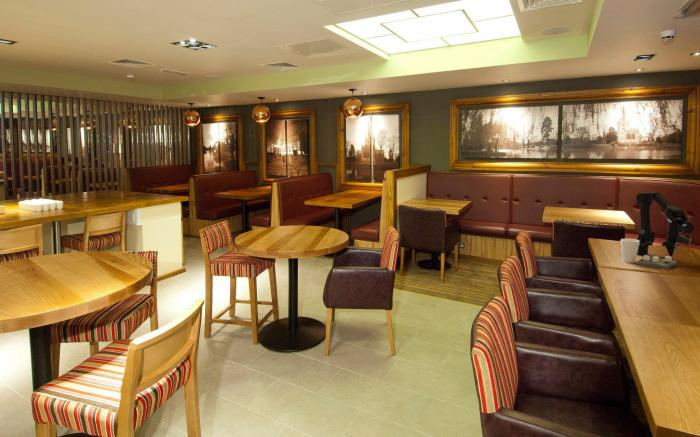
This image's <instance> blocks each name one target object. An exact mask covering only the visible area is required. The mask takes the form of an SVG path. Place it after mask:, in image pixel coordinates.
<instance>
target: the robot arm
mask: <svg viewBox="0 0 700 437" xmlns="http://www.w3.org/2000/svg"><path fill="white" fill-rule="evenodd" d="M635 198H636V203H637V205H638V206H639V208H640V209H639V210H640V212H639V213H640V230H639V233H638V234H637V235H638V236H637V238H635V240H639V241H640V244H639V247H638V251H637V255H636V256H644V255H648V256H651V253H649V246H653V244H654V243H655V240H656V233H655V231H652V228H651V227H652V226H651V208H650V207H651V206H652V204H653V201H654V202H655V203H656V204H657V205H658V206H659V207H661V209H662V210H663V211H664V214H665V216H666V217H667V219H666V220H665V223H668V224H667V231H666V238H665V240H664V241H663V242H662V243H661V246H662V247H665V248H666V250H667V252H668V256H670V257H672V258H673V257H674V255H675V252H676V250H677V248H678V247H680V246H681V245H683V244H684V245H686V246H689V245H690V244H691V242H692V240H693V239H692V237H691V235H690V234H692V233H693V232H694V231H695V226H694V224H693V223H692V221H691V220H688V218H687V216H686V214H685V211H684V210H683V209H682V208H680V207H678V206H676V205H674V204H672V203H671V201H669V200H668V199H667V198H665V197H664V195H662V193H661V192H659V191H652V192H639V193H638V194H637V195H636V197H635ZM682 233H684V234H687V235H682ZM678 243H679V244H678Z"/></svg>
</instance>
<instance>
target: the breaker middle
mask: <svg viewBox="0 0 700 437" xmlns="http://www.w3.org/2000/svg"><path fill="white" fill-rule="evenodd" d="M652 258H653V259H652V261H653V262H659V259H660V256H656V255H655V256H652Z"/></svg>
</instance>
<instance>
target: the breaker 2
mask: <svg viewBox="0 0 700 437" xmlns="http://www.w3.org/2000/svg"><path fill="white" fill-rule="evenodd" d="M672 258H673V257H670V255H665V256H664V259H665V261H668V262H671V260H672Z"/></svg>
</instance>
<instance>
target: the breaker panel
mask: <svg viewBox="0 0 700 437" xmlns="http://www.w3.org/2000/svg"><path fill="white" fill-rule="evenodd" d="M652 259H653V256H650V260H649V261H646V260H643V258H641V259H639V260H637V265H638V266H639V265H640V266H644V267H650V268H656V269H663V270H670V269H671V268H673V267H674V266H676V265H677V263H678V262H677V260H672V259H671V262H668V261H665V258H659V262H653V261H652Z"/></svg>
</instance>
